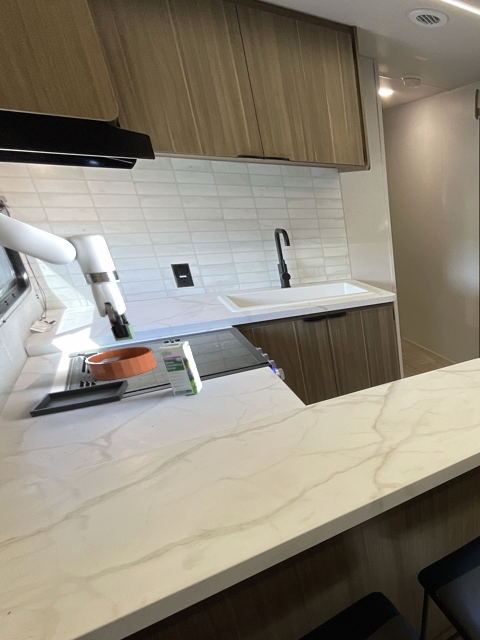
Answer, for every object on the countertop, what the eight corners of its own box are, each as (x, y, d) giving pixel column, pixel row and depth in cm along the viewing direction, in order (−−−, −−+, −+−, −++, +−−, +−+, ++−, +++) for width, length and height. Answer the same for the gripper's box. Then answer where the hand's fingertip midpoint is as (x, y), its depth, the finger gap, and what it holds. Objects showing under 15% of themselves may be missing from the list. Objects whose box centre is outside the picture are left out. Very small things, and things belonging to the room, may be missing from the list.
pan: (32, 419, 102) (29, 412, 101) (49, 400, 112) (46, 393, 112) (121, 402, 111) (118, 395, 110) (129, 385, 121) (126, 379, 120)
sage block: (115, 341, 126) (110, 328, 124) (118, 338, 129) (113, 325, 128) (133, 338, 128) (128, 326, 126) (135, 335, 131) (130, 323, 130)
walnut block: (105, 375, 127) (100, 363, 126) (107, 371, 131) (102, 359, 129) (122, 372, 129) (117, 360, 128) (124, 368, 133) (120, 356, 131)
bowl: (87, 385, 121) (78, 367, 119) (99, 369, 134) (91, 352, 131) (155, 374, 129) (148, 356, 127) (160, 359, 142) (154, 343, 140)
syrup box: (174, 397, 113) (157, 348, 108) (179, 389, 118) (163, 342, 113) (198, 393, 115) (182, 345, 110) (202, 386, 120) (188, 340, 115)
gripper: (91, 275, 126) (114, 331, 133) (77, 283, 113) (103, 344, 120) (122, 273, 130) (143, 327, 137) (112, 280, 117) (135, 340, 124)
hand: (124, 335), depth 128 cm, fingers closed on sage block, 4 cm apart
